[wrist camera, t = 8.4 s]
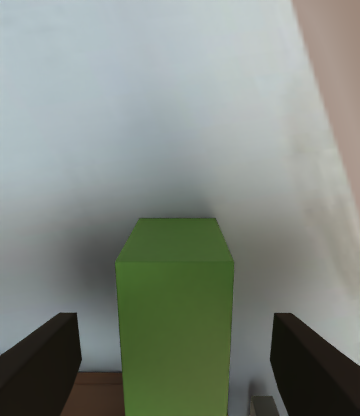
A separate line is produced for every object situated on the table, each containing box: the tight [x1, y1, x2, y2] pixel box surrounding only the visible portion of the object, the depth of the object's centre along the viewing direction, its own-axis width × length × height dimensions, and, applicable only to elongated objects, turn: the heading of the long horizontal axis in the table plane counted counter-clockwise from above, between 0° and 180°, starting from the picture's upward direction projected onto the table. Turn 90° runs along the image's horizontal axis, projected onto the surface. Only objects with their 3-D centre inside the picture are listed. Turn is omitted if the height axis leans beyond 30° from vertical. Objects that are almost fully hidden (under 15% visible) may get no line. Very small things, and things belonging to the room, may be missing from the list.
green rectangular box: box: [115, 218, 234, 416], centre depth 12 cm, size 6×4×5 cm, turn 0°
